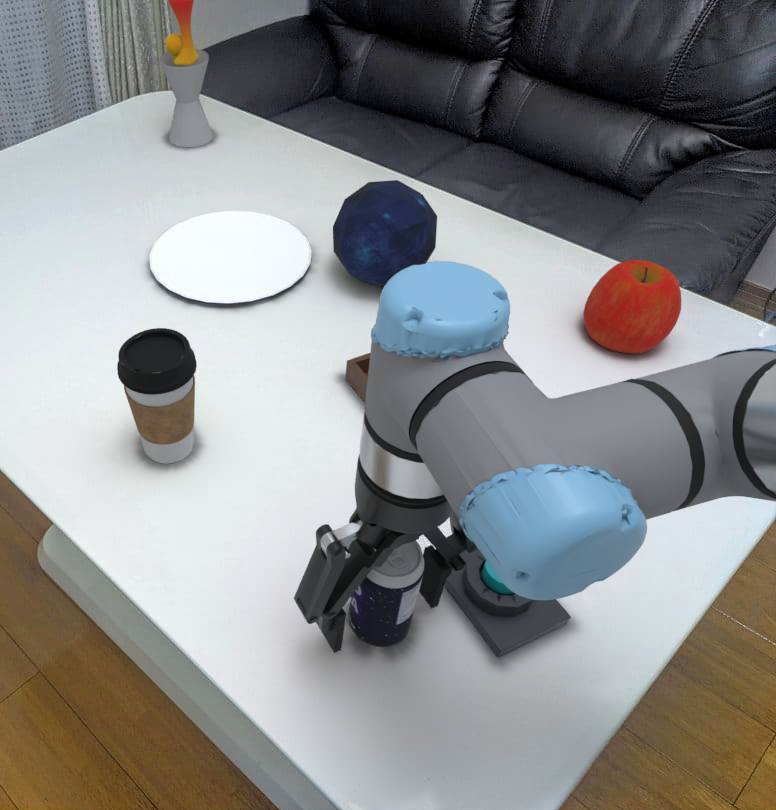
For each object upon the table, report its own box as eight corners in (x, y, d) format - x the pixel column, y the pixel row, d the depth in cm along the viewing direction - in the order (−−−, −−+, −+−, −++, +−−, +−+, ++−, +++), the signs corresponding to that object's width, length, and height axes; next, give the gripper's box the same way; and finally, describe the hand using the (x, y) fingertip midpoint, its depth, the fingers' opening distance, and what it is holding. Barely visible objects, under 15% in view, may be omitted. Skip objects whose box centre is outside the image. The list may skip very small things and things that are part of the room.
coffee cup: (120, 460, 85) (98, 364, 74) (153, 411, 90) (137, 315, 80) (185, 481, 82) (172, 384, 72) (216, 429, 88) (208, 332, 77)
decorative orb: (472, 262, 101) (442, 154, 98) (385, 297, 96) (351, 185, 93) (411, 274, 114) (383, 179, 111) (332, 305, 109) (300, 207, 107)
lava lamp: (216, 126, 146) (204, -80, 121) (210, 147, 140) (197, -65, 115) (171, 126, 147) (150, -78, 122) (164, 147, 141) (140, -64, 116)
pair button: (529, 585, 69) (534, 575, 67) (498, 600, 68) (502, 590, 66) (504, 556, 71) (508, 545, 70) (473, 569, 70) (477, 559, 69)
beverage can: (388, 588, 72) (403, 514, 63) (420, 637, 68) (441, 566, 60) (337, 609, 71) (345, 538, 62) (367, 661, 67) (380, 592, 58)
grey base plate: (567, 623, 69) (577, 606, 67) (498, 657, 67) (505, 641, 64) (493, 534, 76) (499, 517, 74) (427, 563, 74) (432, 546, 72)
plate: (283, 205, 124) (283, 199, 123) (335, 290, 106) (335, 283, 106) (137, 231, 120) (136, 224, 119) (166, 323, 103) (165, 316, 102)
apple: (661, 317, 100) (693, 250, 92) (668, 368, 92) (703, 300, 85) (577, 304, 102) (601, 238, 95) (577, 354, 95) (603, 286, 87)
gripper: (503, 382, 58) (454, 543, 74) (247, 478, 52) (254, 630, 68) (570, 446, 53) (502, 603, 69) (296, 559, 47) (290, 703, 63)
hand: (379, 617), depth 69 cm, fingers open, 10 cm apart
